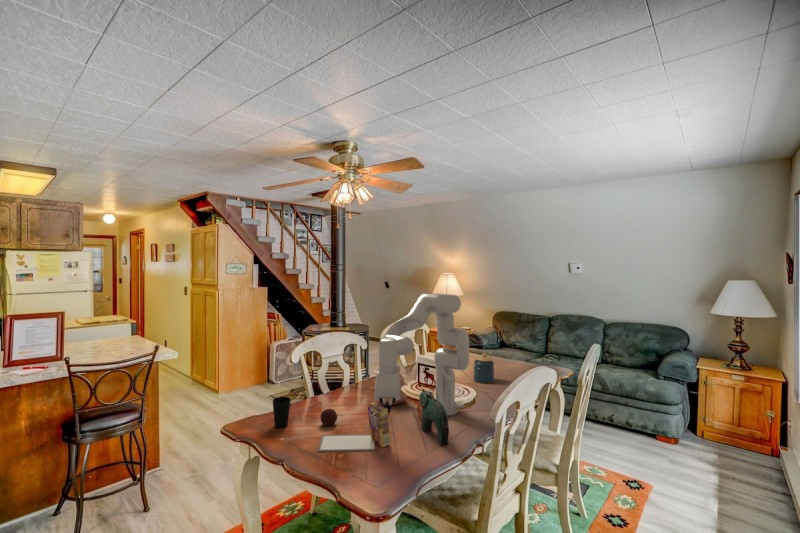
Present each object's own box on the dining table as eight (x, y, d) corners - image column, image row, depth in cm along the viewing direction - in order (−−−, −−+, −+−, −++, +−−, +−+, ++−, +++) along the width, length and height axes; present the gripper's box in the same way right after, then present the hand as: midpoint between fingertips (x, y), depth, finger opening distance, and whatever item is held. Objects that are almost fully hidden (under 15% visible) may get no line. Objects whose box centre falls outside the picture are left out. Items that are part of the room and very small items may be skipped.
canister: (473, 383, 246) (474, 354, 246) (473, 377, 259) (473, 350, 259) (494, 384, 244) (495, 356, 244) (493, 378, 257) (493, 351, 257)
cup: (293, 424, 177) (294, 398, 177) (282, 431, 170) (282, 403, 170) (280, 421, 180) (280, 395, 180) (268, 427, 174) (268, 400, 174)
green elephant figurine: (417, 428, 176) (418, 383, 176) (430, 426, 178) (431, 382, 178) (439, 447, 157) (440, 397, 157) (453, 444, 160) (453, 395, 160)
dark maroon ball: (317, 424, 178) (317, 409, 178) (330, 420, 183) (331, 405, 183) (326, 429, 173) (327, 413, 173) (340, 424, 178) (341, 409, 178)
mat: (374, 435, 167) (374, 434, 167) (374, 450, 154) (374, 449, 154) (322, 436, 166) (322, 435, 166) (317, 451, 152) (317, 450, 152)
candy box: (391, 443, 158) (388, 408, 156) (383, 448, 156) (379, 412, 153) (378, 434, 165) (375, 400, 163) (370, 438, 163) (366, 404, 160)
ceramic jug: (412, 400, 213) (412, 373, 213) (402, 409, 199) (403, 381, 199) (381, 395, 219) (382, 370, 219) (370, 404, 206) (371, 376, 206)
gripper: (405, 366, 165) (404, 410, 165) (369, 366, 164) (368, 410, 164) (406, 371, 158) (406, 417, 158) (369, 371, 156) (368, 417, 156)
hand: (387, 414), depth 161 cm, fingers closed
